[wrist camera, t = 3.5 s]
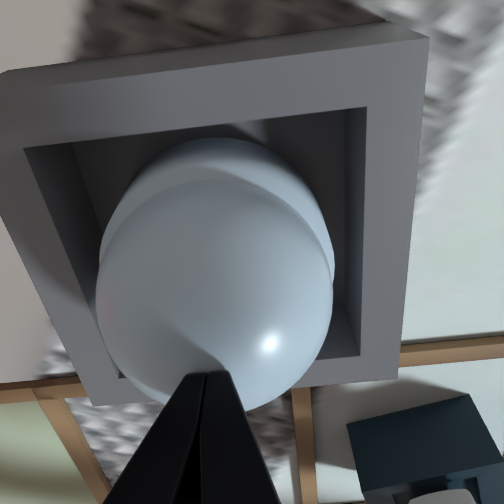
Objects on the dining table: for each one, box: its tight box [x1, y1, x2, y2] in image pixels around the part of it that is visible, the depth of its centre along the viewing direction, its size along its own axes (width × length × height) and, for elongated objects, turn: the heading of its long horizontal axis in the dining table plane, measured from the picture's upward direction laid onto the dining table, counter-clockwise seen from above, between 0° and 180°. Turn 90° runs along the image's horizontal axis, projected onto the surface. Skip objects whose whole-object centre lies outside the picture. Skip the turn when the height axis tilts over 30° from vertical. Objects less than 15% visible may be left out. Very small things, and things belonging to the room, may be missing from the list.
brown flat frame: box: [0, 336, 504, 504], centre depth 21 cm, size 13×32×1 cm, turn 97°
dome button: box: [95, 137, 335, 411], centre depth 11 cm, size 6×6×6 cm
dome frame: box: [0, 21, 430, 406], centre depth 13 cm, size 10×10×3 cm
